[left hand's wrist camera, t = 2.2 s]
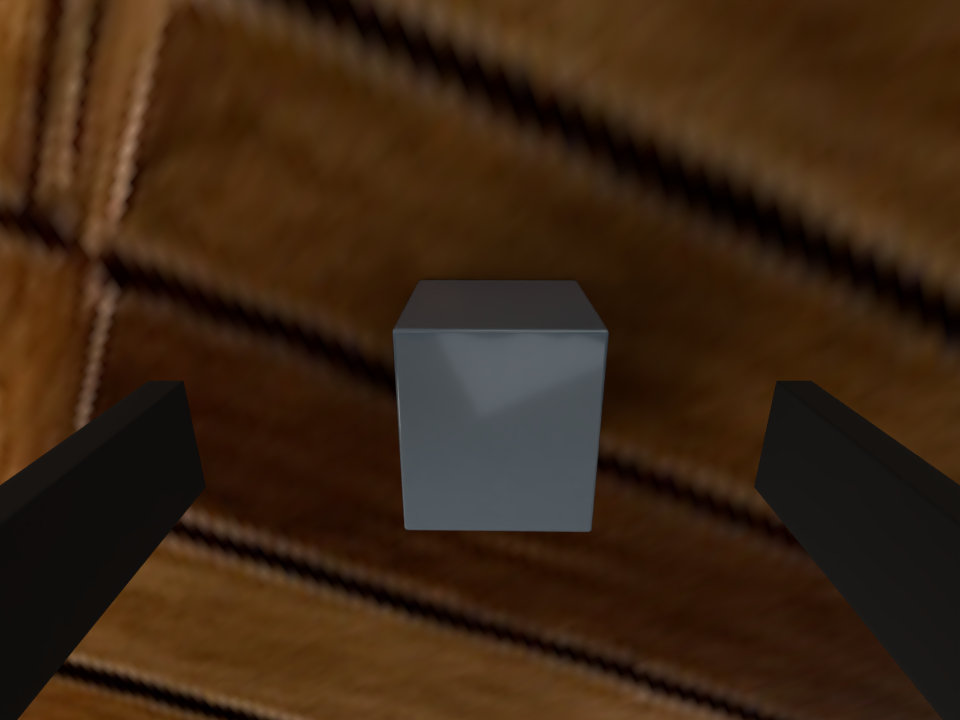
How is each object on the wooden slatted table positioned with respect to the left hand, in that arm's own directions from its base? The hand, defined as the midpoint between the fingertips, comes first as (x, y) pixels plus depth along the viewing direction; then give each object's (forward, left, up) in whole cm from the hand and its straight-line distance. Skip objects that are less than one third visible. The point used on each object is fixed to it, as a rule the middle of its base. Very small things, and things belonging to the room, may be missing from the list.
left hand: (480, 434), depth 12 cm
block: (0, 0, -4) cm, 4 cm away
